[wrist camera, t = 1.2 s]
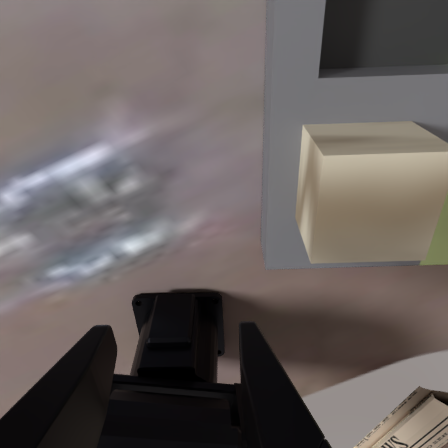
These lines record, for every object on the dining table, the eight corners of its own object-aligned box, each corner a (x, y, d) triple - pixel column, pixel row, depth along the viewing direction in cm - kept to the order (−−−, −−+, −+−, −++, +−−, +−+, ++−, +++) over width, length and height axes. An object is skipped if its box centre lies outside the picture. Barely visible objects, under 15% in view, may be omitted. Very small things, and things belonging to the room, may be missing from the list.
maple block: (388, 214, 19) (425, 260, 16) (295, 217, 19) (310, 263, 16) (411, 121, 16) (460, 151, 13) (302, 124, 16) (323, 155, 13)
